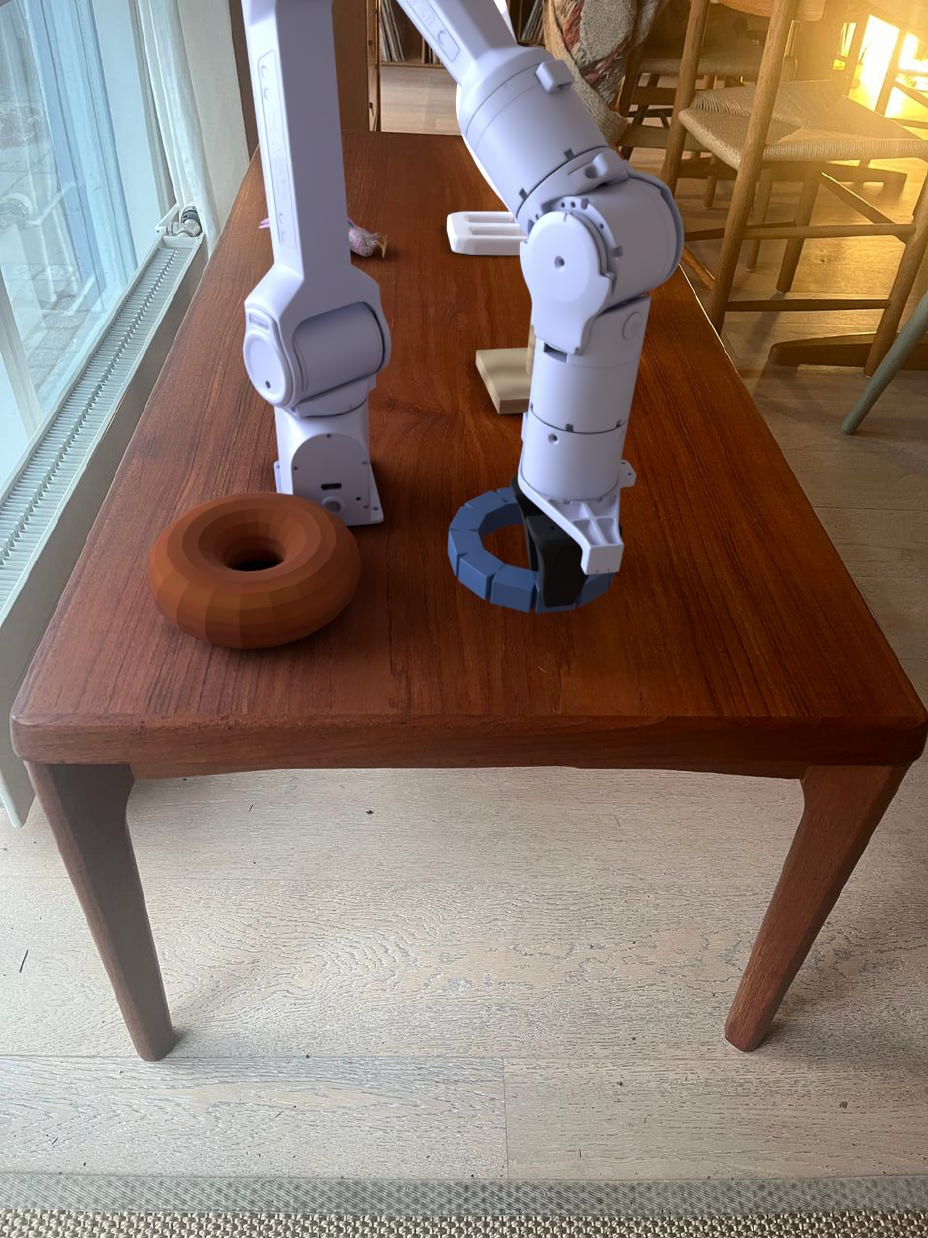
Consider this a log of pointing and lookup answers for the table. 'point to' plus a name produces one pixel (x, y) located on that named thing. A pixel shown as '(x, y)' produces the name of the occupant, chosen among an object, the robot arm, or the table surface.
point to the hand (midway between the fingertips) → (552, 590)
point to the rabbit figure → (355, 239)
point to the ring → (491, 573)
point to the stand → (508, 375)
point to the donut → (256, 600)
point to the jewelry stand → (485, 228)
